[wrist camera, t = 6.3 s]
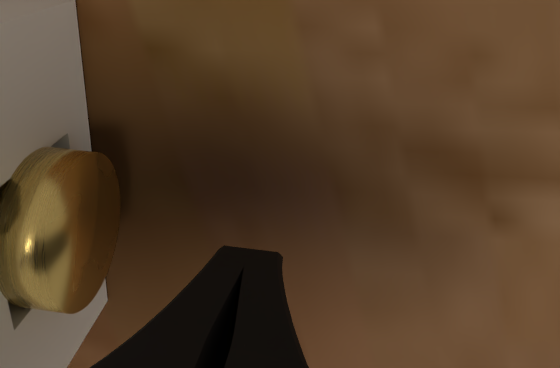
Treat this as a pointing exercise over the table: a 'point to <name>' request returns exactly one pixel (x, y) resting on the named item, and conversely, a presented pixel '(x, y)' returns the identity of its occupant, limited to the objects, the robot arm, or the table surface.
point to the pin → (58, 229)
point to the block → (34, 135)
